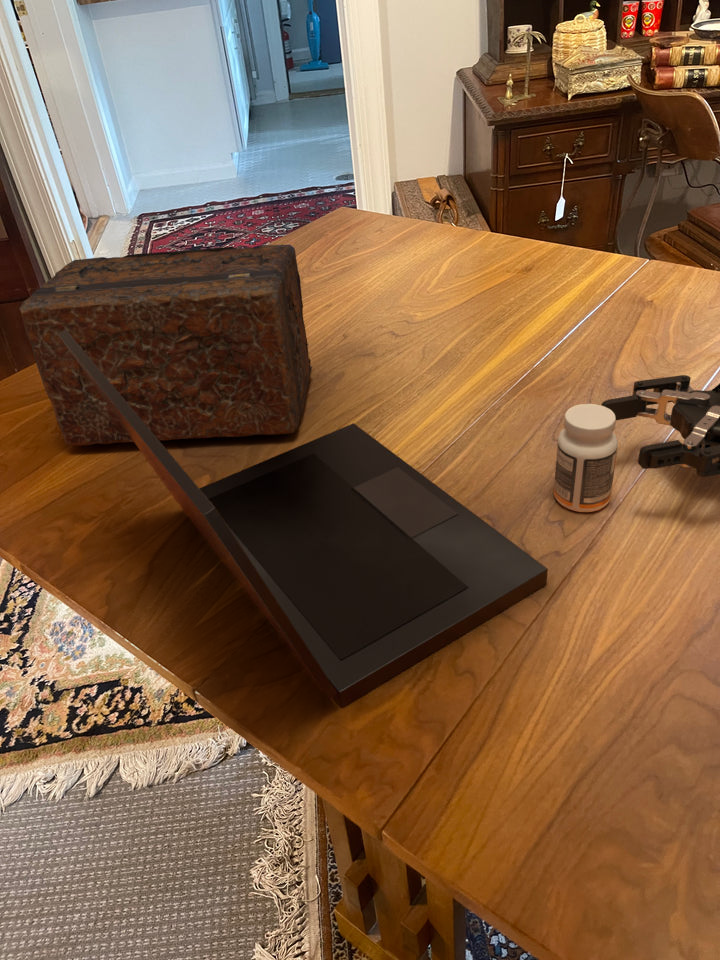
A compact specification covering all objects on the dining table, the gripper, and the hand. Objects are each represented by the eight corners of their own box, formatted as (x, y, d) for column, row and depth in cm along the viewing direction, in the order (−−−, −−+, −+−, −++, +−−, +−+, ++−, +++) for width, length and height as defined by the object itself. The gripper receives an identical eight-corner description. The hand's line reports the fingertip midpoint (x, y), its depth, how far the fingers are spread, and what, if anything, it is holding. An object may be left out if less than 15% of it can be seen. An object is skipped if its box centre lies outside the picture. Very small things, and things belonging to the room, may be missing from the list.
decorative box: (101, 395, 105) (55, 462, 88) (62, 252, 95) (1, 296, 78) (314, 379, 105) (310, 443, 87) (298, 233, 94) (290, 273, 77)
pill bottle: (611, 484, 77) (623, 402, 71) (608, 518, 73) (621, 434, 67) (555, 478, 79) (562, 397, 73) (549, 511, 74) (556, 428, 69)
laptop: (355, 436, 89) (353, 421, 87) (546, 584, 66) (548, 568, 65) (186, 509, 80) (182, 494, 79) (341, 708, 58) (339, 691, 56)
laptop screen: (66, 328, 64) (57, 333, 64) (216, 506, 41) (203, 515, 41) (182, 495, 79) (175, 500, 79) (339, 692, 56) (329, 700, 56)
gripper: (742, 342, 77) (593, 367, 75) (835, 411, 65) (661, 441, 64) (727, 404, 81) (586, 428, 80) (811, 478, 70) (649, 508, 68)
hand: (620, 434), depth 72 cm, fingers open, 8 cm apart
